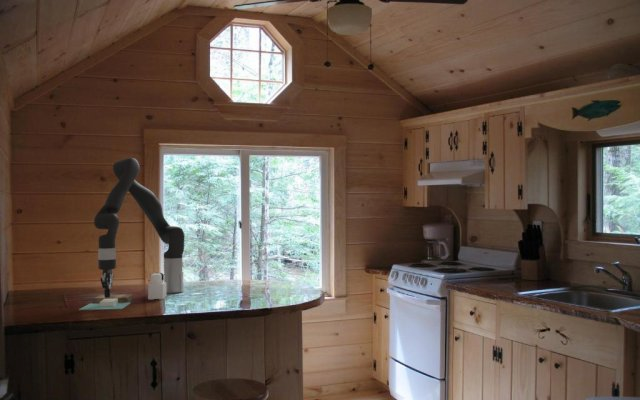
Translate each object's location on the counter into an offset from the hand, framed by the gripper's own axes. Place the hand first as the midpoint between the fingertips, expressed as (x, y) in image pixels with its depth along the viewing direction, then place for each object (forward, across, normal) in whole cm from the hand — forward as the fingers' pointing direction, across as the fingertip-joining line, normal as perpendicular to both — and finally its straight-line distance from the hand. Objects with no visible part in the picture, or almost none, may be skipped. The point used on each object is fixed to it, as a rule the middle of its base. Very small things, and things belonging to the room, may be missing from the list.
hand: (107, 297), depth 279 cm
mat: (+4, -4, 0) cm, 5 cm away
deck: (+4, +10, 0) cm, 11 cm away
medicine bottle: (+4, +17, -18) cm, 25 cm away
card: (+3, 0, -1) cm, 3 cm away
